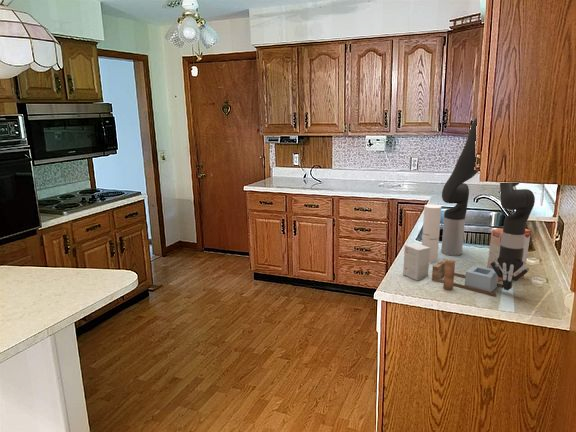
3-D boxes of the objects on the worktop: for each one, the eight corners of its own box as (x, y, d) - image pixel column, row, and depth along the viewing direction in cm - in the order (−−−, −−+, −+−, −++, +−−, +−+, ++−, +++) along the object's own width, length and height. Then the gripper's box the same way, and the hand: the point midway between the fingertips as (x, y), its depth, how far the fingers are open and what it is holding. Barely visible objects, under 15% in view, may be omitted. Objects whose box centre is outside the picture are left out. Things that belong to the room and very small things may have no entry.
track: (442, 274, 185) (444, 258, 183) (504, 290, 170) (506, 272, 168) (431, 282, 177) (432, 266, 175) (494, 299, 162) (497, 281, 160)
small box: (428, 277, 182) (430, 247, 179) (416, 281, 179) (418, 250, 176) (413, 271, 189) (415, 242, 186) (402, 274, 186) (404, 244, 183)
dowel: (445, 288, 172) (447, 259, 169) (453, 290, 170) (456, 261, 167) (441, 291, 169) (444, 261, 166) (450, 293, 167) (453, 263, 164)
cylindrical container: (424, 256, 208) (428, 203, 201) (439, 259, 203) (444, 205, 197) (418, 260, 202) (421, 206, 196) (433, 263, 198) (437, 208, 192)
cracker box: (495, 284, 176) (501, 233, 170) (485, 278, 181) (490, 228, 176) (525, 280, 179) (531, 230, 174) (513, 274, 185) (520, 226, 180)
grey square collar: (472, 280, 176) (474, 265, 175) (496, 286, 170) (498, 270, 169) (464, 287, 170) (465, 271, 168) (489, 294, 164) (490, 277, 162)
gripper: (535, 245, 158) (529, 291, 162) (496, 238, 166) (491, 281, 171) (529, 251, 153) (523, 297, 157) (489, 243, 161) (484, 288, 165)
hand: (506, 289), depth 164 cm, fingers closed
